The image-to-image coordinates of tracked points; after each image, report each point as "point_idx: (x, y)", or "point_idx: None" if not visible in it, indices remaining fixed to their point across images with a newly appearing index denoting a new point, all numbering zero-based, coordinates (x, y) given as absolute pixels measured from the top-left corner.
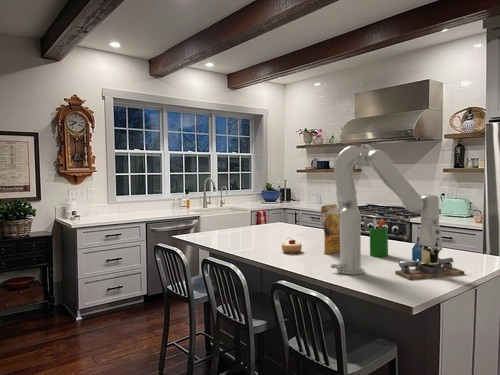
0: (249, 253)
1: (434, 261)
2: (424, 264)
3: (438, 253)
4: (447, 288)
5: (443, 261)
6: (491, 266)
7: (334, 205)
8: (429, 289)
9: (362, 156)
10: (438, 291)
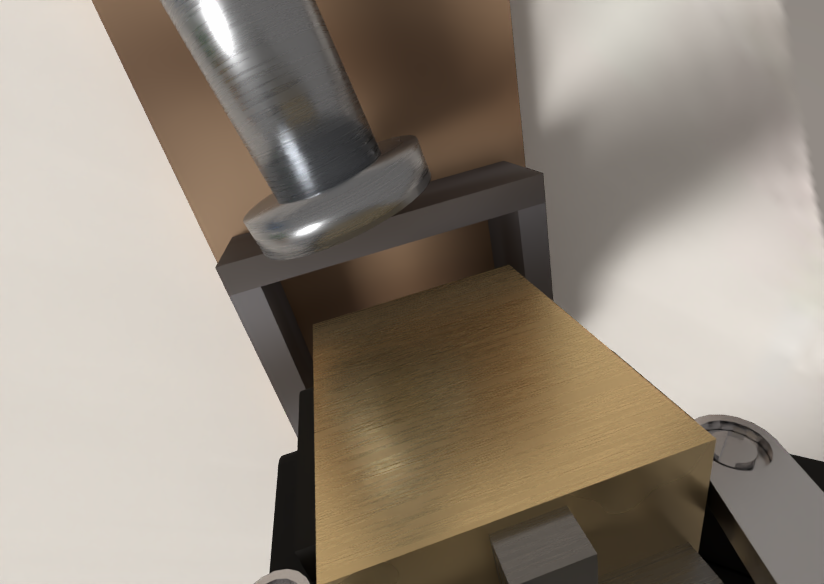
0: None
1: None
2: (305, 385)
3: (753, 430)
4: (800, 306)
5: (341, 69)
6: None
7: None
8: (760, 422)
9: None
10: (811, 384)
